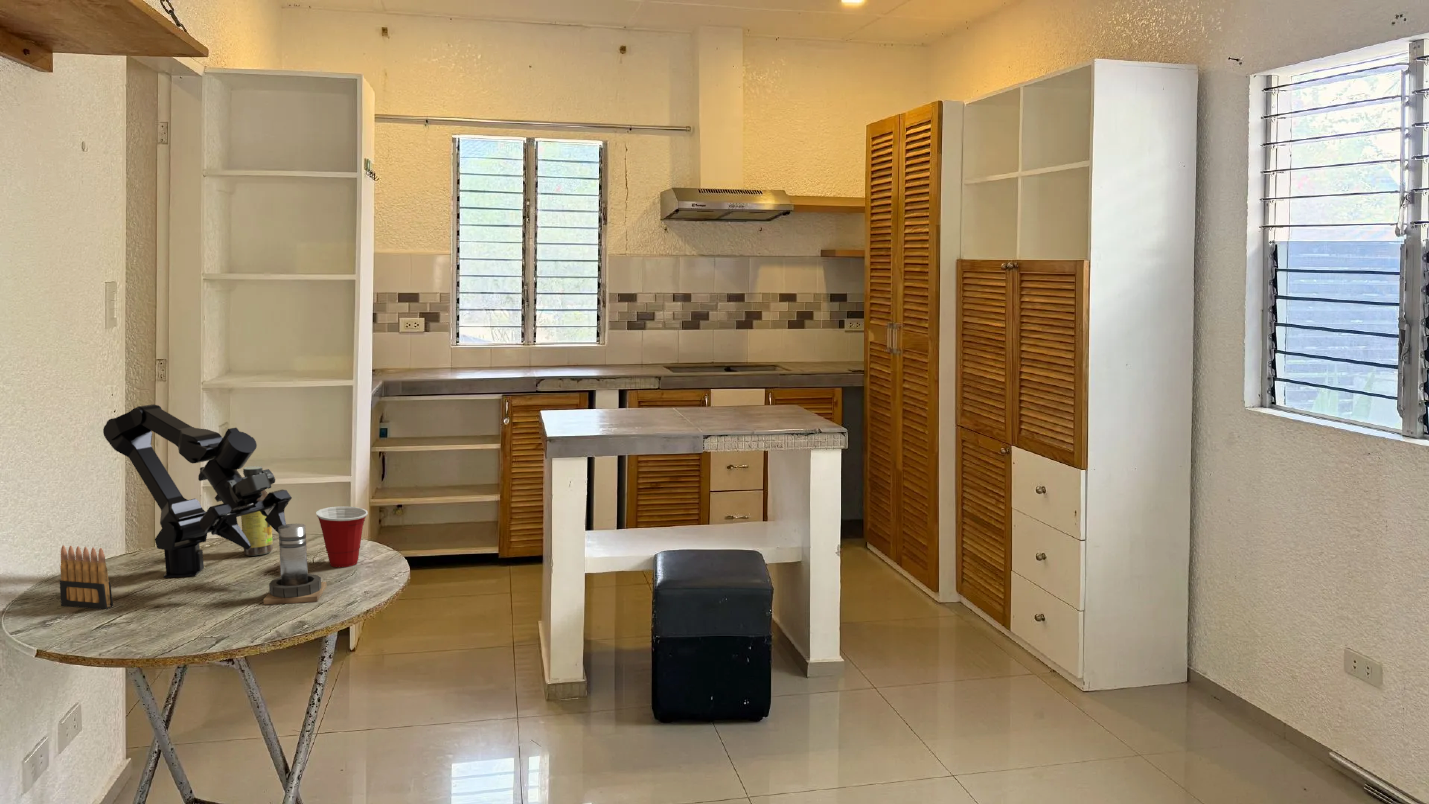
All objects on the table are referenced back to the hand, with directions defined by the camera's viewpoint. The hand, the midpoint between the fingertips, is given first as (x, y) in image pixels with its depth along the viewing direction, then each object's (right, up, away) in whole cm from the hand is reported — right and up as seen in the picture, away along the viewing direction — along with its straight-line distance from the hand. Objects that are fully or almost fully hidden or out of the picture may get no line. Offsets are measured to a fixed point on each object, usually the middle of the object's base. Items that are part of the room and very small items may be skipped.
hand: (268, 542), depth 222 cm
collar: (+6, -10, -2) cm, 12 cm away
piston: (+6, -9, -2) cm, 11 cm away
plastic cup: (+9, -7, +20) cm, 23 cm away
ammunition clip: (-32, -12, -8) cm, 35 cm away
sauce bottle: (-14, -6, +30) cm, 33 cm away
